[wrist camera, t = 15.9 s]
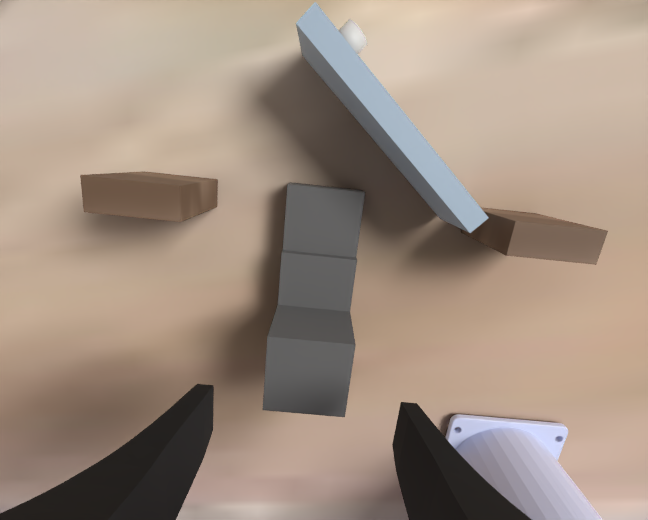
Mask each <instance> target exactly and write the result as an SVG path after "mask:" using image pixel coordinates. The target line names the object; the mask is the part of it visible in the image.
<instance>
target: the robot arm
mask: <svg viewBox="0 0 648 520" xmlns="http://www.w3.org/2000/svg"><path fill="white" fill-rule="evenodd" d="M456 427H459V428H457V429H455V428H456ZM212 431H213V385H202V384H197V385H196V386H194V387H193V388H192V389H191V390H190V391H189V392H188V393H186V394H185V395H184V396H183V397H182V398H181V399H180V400H179V401H178V402H176V403H175V404H174V405H173V406H172V407H171V408H170V409H169V410H167V411H166V412H165V413H164V414H163V415H161V416H160V417H159V418H158V419H157V420H156V421H154V422H153V423H152V424H151V425H149V426H148V427H147V428H146V429H144V430H143V431H142V432H140V433H139V434H138V435H137V436H135V437H134V438H133V439H131V440H130V441H129V442H127V443H126V444H125V445H123V446H122V447H120V448H119V449H118V450H116V451H115V452H113V453H112V454H110V455H109V456H107V457H106V458H104V459H103V460H101V461H99V462H98V463H96V464H94V465H93V466H91V467H89V468H88V469H86V470H84V471H83V472H81V473H79V474H77V475H76V476H74V477H72V478H71V479H69V480H67V481H65V482H64V483H62V484H60V485H58V486H56V487H54V488H52V489H50V490H49V491H47V492H45V493H43V494H41V495H39V496H37V497H35V498H33V499H31V500H29V501H27V502H24V503H22V504H20V505H18V506H16V507H14V508H12V509H9V510H7V511H5V512H3V513H0V520H176V518H177V516H178V513H179V511H180V509H181V507H182V505H183V503H184V500H185V498H186V496H187V494H188V492H189V489H190V487H191V485H192V483H193V481H194V478H195V476H196V474H197V472H198V469H199V467H200V465H201V463H202V460H203V458H204V455H205V452H206V449H207V447H208V443H209V440H210V437H211V434H212ZM567 434H568V429H567V428H566V427H565V425H563V424H561V423H553V422H541V421H530V420H519V419H507V418H496V417H484V416H473V415H462V414H456V415H454V416H452V417H451V419H450V422H449V426H448V430H447V434H446V438H445V437H444V436H443V435H442V433H441V432H440V431H439V430H438V429H437V427H436V426H435V425H434V424H433V423H432V421H431V420H430V419H429V418H428V417H427V415H426V414H425V413H424V412H423V410H422V409H421V408H420V407H419V406H418V404H417V403H406V402H401V405H400V410H399V415H398V420H397V425H396V430H395V435H394V440H393V452H394V459H395V466H396V472H397V476H398V480H399V484H400V488H401V492H402V495H403V499H404V503H405V506H406V510H407V514H408V518H409V520H603V519H602V518H601V516H600V515H599V514H598V513H597V511H596V510H595V509H594V507H593V506H592V505H591V504H590V502H589V501H588V500H587V498H586V497H585V496H584V495H583V493H582V492H581V491H580V489H579V488H578V487H577V486H576V484H575V483H574V482H573V480H572V479H571V478H570V477H569V475H568V474H567V473H566V472H565V470H564V469H563V468H562V466H561V465H560V464H559V463H558V461H557V460H558V458H559V455H560V453H561V450H562V447H563V445H564V442H565V439H566V437H567Z"/></svg>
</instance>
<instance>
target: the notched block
mask: <svg viewBox="0 0 648 520" xmlns="http://www.w3.org/2000/svg"><path fill="white" fill-rule="evenodd" d="M364 197H365V192H364V191H362V190H356V189H347V188H337V187H328V186H319V185H310V184H300V183H291V182H290V183H289V184H288V185H287V199H286V212H285V226H284V240H283V251H282V254H281V268H280V282H279V296H278V306H277V309H276V312H275V315H274V318H273V321H272V324H271V327H270V330H269V333H268V336H267V351H266V367H265V383H264V398H263V410H269V411H280V412H291V413H303V414H314V415H325V416H337V417H345V412H346V405H347V398H348V392H349V385H350V378H351V371H352V365H353V358H354V351H355V339H354V333H353V327H352V322H351V316H350V307H351V300H352V292H353V285H354V278H355V271H356V263H357V259H356V255H357V247H358V240H359V233H360V226H361V218H362V211H363V204H364Z"/></svg>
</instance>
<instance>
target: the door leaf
mask: <svg viewBox="0 0 648 520" xmlns="http://www.w3.org/2000/svg"><path fill="white" fill-rule="evenodd" d="M296 26H297V31H298V36H299V41H300V46H301V51H302V56H303V57H304V58H305V59H306V61H307V62H308V63H309V64H310V65H311V67H312V68H313V69H314V70H315V71H316V72H317V74H318V75H319V76H320V77H321V78H322V80H323V81H324V82H325V83H326V84H327V85H328V87H329V88H330V89H331V90H332V91H333V93H334V94H335V95H336V96H337V97H338V98H339V100H340V101H341V102H342V103H343V104H344V106H345V107H346V108H347V109H348V110H349V112H350V113H351V114H352V115H353V116H354V117H355V119H356V120H357V121H358V122H359V123H360V125H361V126H362V127H363V128H364V129H365V130H366V132H367V133H368V134H369V135H370V136H371V138H372V139H373V140H374V141H375V142H376V143H377V145H378V146H379V147H380V148H381V149H382V151H383V152H384V153H385V154H386V155H387V156H388V158H389V159H390V160H391V161H392V162H393V164H394V165H395V166H396V167H397V168H398V169H399V171H400V172H401V173H402V174H403V175H404V177H405V178H406V179H407V180H408V181H409V182H410V184H411V185H412V186H413V187H414V188H415V190H416V191H417V192H418V193H419V194H420V196H421V197H422V198H423V199H424V200H425V201H426V203H427V204H428V205H429V206H430V207H431V209H432V210H433V211H434V212H435V213H436V214H437V216H438V217H439V218H440V219H442V220H444V221H446V222H448V223H450V224H452V225H454V226H456V227H458V228H460V229H462V230H464V231H467V232H469V233H471V232H472V231H474V230H475V229H476V228H477V227H478V226H480V225H481V224H482V223H483V222H484V221H486V220H487V219H488V216H487V215H486V214H485V213H484V211H483V210H482V209H481V208H480V206H479V205H478V204H477V203H476V201H475V200H474V199H473V198H472V196H471V195H470V194H469V193H468V191H467V190H466V189H465V188H464V186H463V185H462V184H461V183H460V181H459V180H458V179H457V178H456V176H455V175H454V174H453V173H452V171H451V170H450V169H449V168H448V166H447V165H446V164H445V163H444V161H443V160H442V159H441V158H440V157H439V155H438V154H437V153H436V152H435V150H434V149H433V148H432V147H431V145H430V144H429V143H428V142H427V140H426V139H425V138H424V137H423V135H422V134H421V133H420V132H419V130H418V129H417V128H416V127H415V125H414V124H413V123H412V122H411V120H410V119H409V118H408V117H407V115H406V114H405V113H404V112H403V110H402V109H401V108H400V107H399V105H398V104H397V103H396V102H395V100H394V99H393V98H392V97H391V96H390V94H389V93H388V92H387V91H386V89H385V88H384V87H383V86H382V84H381V83H380V82H379V81H378V79H377V78H376V77H375V76H374V74H373V73H372V72H371V71H370V69H369V68H368V67H367V66H366V64H365V63H364V62H363V61H362V59H361V58H360V57H359V56H358V54H359V52H360V51H361V50H362V49H363V48H364V47H365V46H366V45H367V40H366V38H365V35H364V34H363V32H362V30H361V29H360V28H359V26H358V25H357V24H356V23H355V22H354V21H352V20H350V19H349V20H348V21H347V22H346V23H345V24H344V25H343V26H342V28H341V29H340V30H339V31H338V30H337V28H336V27H335V26H334V25H333V23H332V22H331V21H330V20H329V18H328V17H327V16H326V15H325V13H324V12H323V11H322V10H321V8H320V7H319V6H318V5H317V3H316V2H315V3H314V4H313V5H312V6H311V7H310V8H309V9H308V10H307V12H306V13H305V14H304V15H303V16H302V17H301V18H300V19H299V20H298V22H297V23H296Z"/></svg>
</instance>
